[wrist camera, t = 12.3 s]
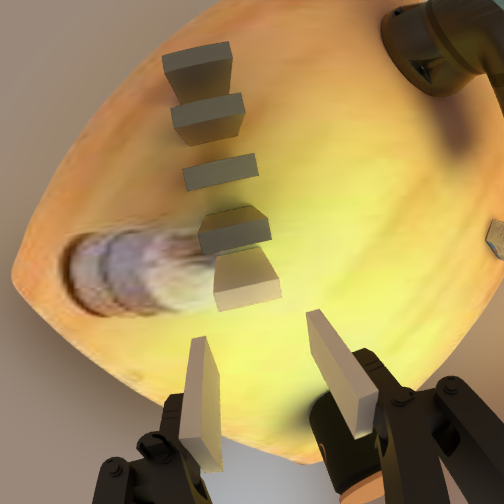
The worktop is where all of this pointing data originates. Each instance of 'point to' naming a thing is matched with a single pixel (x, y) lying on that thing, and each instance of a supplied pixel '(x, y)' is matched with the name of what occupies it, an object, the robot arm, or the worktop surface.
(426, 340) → the worktop surface
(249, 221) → the domino
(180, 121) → the domino
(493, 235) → the medicine box
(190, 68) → the domino
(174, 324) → the worktop surface
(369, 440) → the coffee jar
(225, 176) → the domino
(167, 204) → the worktop surface
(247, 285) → the domino
